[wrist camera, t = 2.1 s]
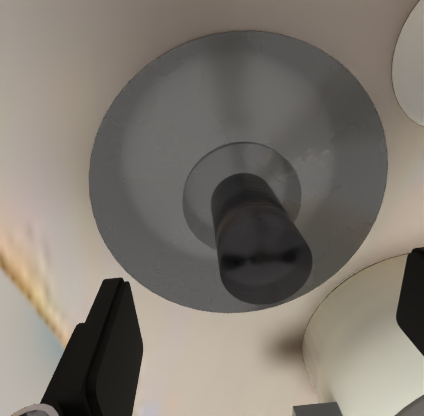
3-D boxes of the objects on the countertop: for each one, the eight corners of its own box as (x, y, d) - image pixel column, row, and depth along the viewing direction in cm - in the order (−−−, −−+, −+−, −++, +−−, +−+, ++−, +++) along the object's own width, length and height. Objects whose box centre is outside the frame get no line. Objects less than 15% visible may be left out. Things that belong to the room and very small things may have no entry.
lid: (60, 47, 14) (-56, 33, 7) (397, 20, 14) (571, -17, 8) (125, 310, 20) (94, 428, 14) (357, 287, 21) (434, 390, 14)
